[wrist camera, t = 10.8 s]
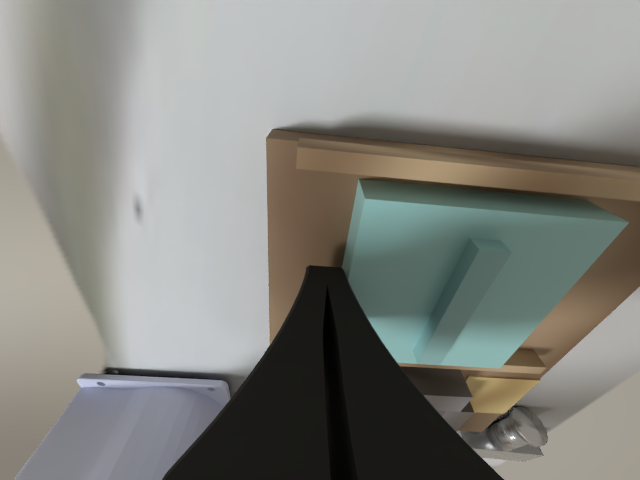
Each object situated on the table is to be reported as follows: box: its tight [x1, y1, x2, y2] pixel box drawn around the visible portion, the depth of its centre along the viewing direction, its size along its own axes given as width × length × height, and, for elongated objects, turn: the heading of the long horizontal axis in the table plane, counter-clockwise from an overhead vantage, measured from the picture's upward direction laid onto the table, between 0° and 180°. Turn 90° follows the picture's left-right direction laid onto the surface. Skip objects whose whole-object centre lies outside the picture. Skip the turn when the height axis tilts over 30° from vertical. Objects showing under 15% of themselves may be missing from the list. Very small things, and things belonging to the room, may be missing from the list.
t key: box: [457, 407, 548, 461], centre depth 21 cm, size 7×2×6 cm
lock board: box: [266, 129, 640, 432], centre depth 14 cm, size 16×20×3 cm
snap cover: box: [342, 179, 629, 369], centre depth 10 cm, size 8×8×2 cm
